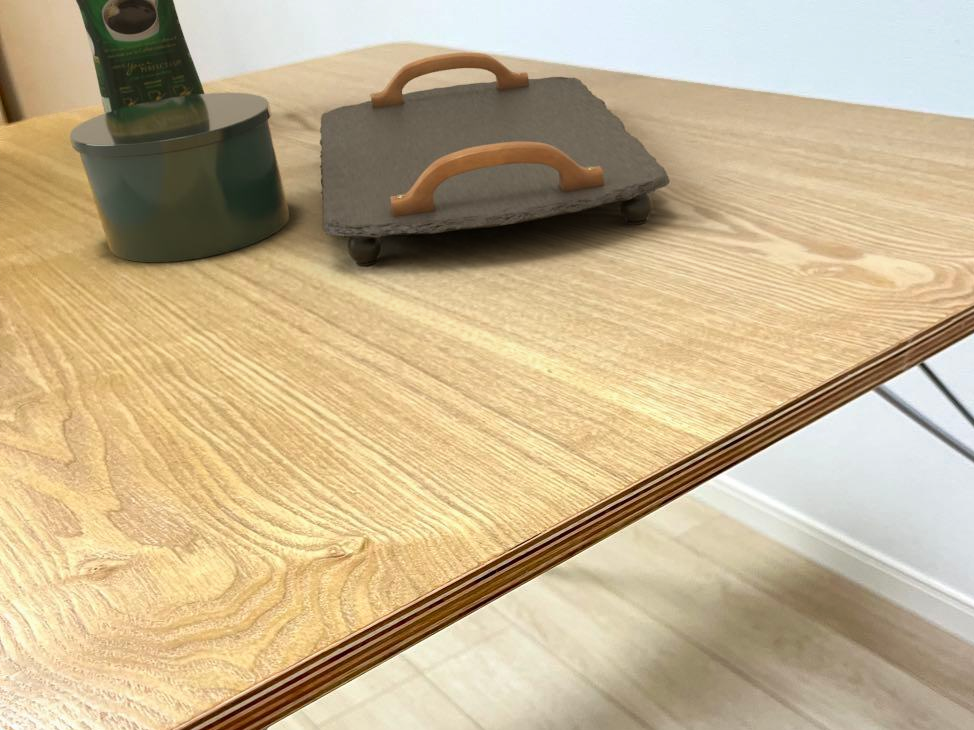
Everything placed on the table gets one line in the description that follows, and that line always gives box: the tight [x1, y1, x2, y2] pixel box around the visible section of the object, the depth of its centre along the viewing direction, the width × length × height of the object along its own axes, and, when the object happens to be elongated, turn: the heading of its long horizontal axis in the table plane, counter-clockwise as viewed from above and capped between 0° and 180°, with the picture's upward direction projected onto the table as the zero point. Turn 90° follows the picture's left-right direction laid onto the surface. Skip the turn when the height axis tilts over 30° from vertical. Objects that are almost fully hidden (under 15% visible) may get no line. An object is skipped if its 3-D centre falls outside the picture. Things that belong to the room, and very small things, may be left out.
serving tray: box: [319, 51, 670, 267], centre depth 86 cm, size 39×23×6 cm, turn 9°
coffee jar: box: [75, 0, 206, 114], centre depth 105 cm, size 10×8×19 cm
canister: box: [69, 92, 290, 263], centre depth 81 cm, size 14×14×8 cm
